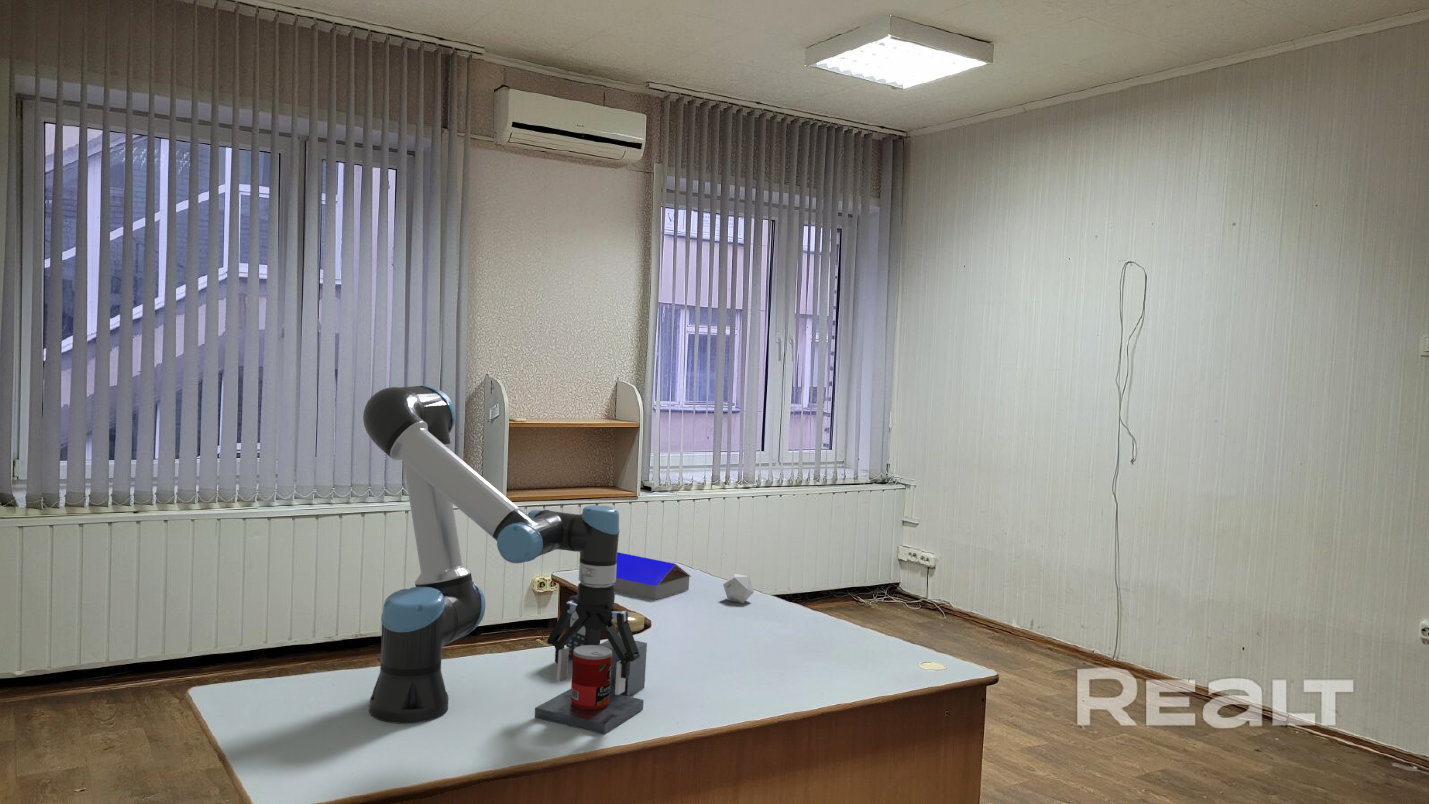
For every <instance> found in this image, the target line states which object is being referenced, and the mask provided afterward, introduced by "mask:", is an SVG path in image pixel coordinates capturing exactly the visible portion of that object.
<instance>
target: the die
mask: <svg viewBox="0 0 1429 804" xmlns="http://www.w3.org/2000/svg"><path fill="white" fill-rule="evenodd" d="M722 585H723V588H724V592H725V594H726V598H727V601H730V602H735V603H740V604H744V603H745V602H746V601H747V600H748V599H749V598H750V597H751V596H752V595H753V594H754V593H755V592H754V588H753V587H754V586H753V584H752V582H751V579H750V576H749V575H748V576H747V575H745V574H744V575H743V574H738V573H734V574H733V575H731V577H729V578H728V579H727V580H726V581H724V583H723V584H722Z"/></svg>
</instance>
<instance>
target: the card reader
mask: <svg viewBox="0 0 1429 804" xmlns="http://www.w3.org/2000/svg"><path fill="white" fill-rule="evenodd" d="M571 600H573V601H574V603H575V604H578V600H577V594H576V595H571V596H569V598H568V601H571ZM578 618H579V617H578V615H577V613H576V610H575V612H574V613H573V614H572V616H571V618H570V619H569V621H568V623H567V625H566V632H567V631H568V630H569V628H570V627H571V626H572V625H573V623H574V622H575V621H576V620H577V619H578ZM601 634H602V631H601V630H599V631H597V630H594V629H592V628H591V629H587V628H585V627H584V626H583V627H582V628H581V629H580V630H579V631H578V632H577V633H576V634H575V635H574V637H573V638H572V639H571V640H570V641H569V642H568V643H567V645H565V647H569V654H568V659H570V660H572V661H573V651H574V649H575V648H576V647H579V646H584V645H599V644H601Z"/></svg>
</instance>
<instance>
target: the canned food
mask: <svg viewBox="0 0 1429 804" xmlns="http://www.w3.org/2000/svg"><path fill="white" fill-rule="evenodd" d="M571 663H572V666H571V686H570V687H571V688H570V689H571V702H572V704H573V706H575V707H577V708H580V709H585V710H598V709H602V708H605V707H606V706H607V705H608V703H609V700H610V684H611V667H612V650H611V649H609V648H607V647H603V646H597V645H584V646H579V647H576V648H575V649H574V651H573V660H572V661H571Z"/></svg>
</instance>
